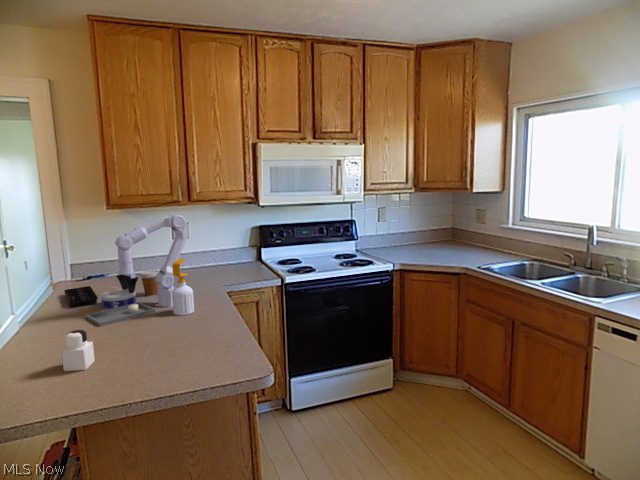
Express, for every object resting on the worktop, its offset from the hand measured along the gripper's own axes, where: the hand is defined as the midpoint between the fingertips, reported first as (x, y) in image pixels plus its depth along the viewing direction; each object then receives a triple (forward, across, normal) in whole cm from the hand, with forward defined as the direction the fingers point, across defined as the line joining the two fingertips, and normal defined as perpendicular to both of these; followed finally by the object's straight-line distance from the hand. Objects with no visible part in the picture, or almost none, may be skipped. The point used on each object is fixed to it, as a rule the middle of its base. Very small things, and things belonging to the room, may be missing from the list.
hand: (128, 291), depth 202 cm
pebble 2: (+9, +3, 0) cm, 10 cm away
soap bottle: (+10, +20, +16) cm, 28 cm away
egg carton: (+10, -40, -9) cm, 42 cm away
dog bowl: (+10, -16, +1) cm, 19 cm away
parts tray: (+10, +3, -5) cm, 12 cm away
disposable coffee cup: (+10, -20, +19) cm, 30 cm away
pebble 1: (+4, -16, -1) cm, 16 cm away
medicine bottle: (+10, +45, -35) cm, 58 cm away
